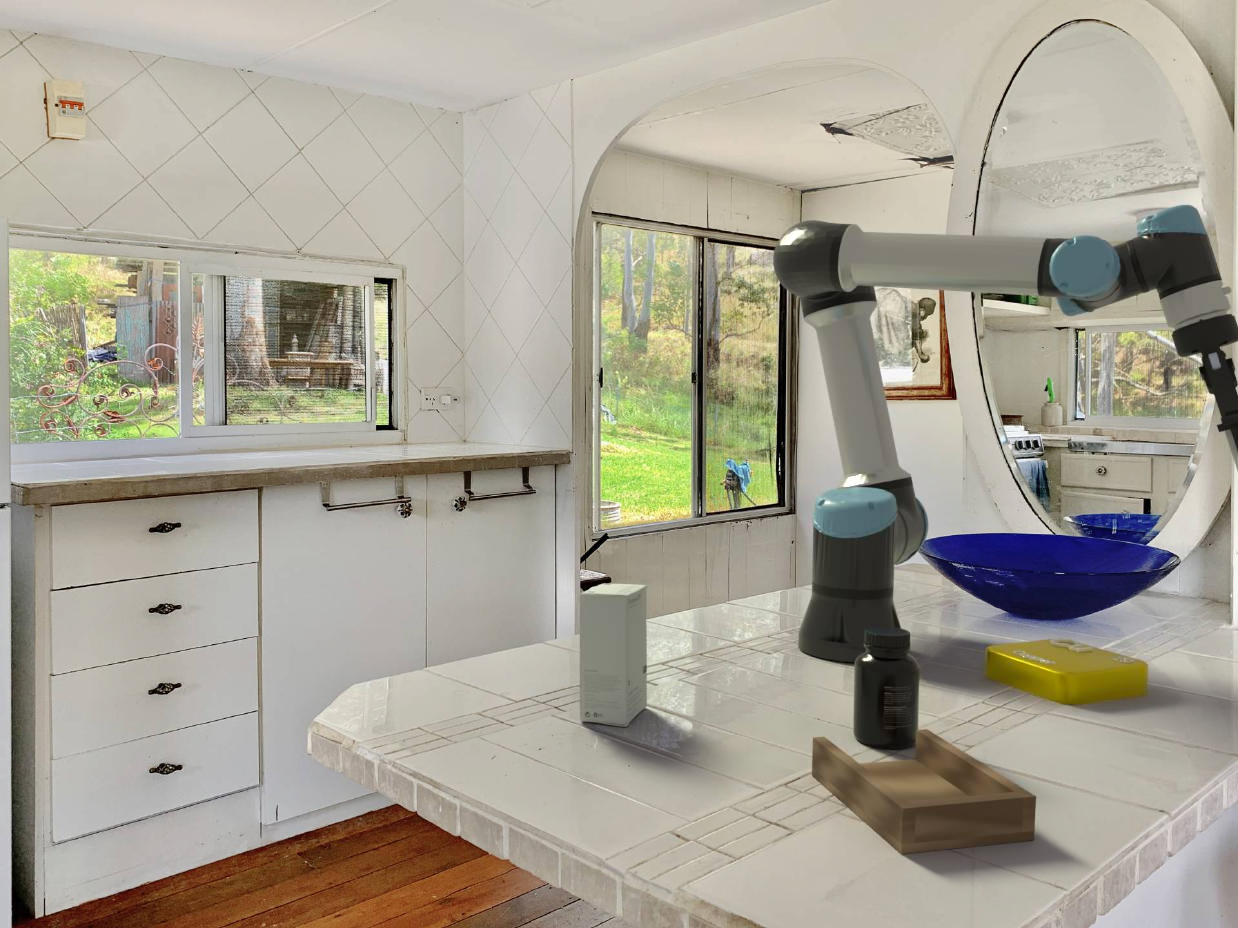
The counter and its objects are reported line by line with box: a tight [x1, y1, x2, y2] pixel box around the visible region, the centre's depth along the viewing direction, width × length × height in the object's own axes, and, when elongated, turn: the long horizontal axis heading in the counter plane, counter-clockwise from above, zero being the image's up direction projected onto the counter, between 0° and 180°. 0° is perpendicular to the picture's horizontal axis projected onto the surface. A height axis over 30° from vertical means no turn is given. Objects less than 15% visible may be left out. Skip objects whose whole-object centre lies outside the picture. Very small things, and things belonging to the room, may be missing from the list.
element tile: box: [984, 637, 1149, 706], centre depth 131 cm, size 15×15×5 cm
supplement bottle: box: [852, 627, 920, 750], centre depth 109 cm, size 7×7×12 cm
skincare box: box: [579, 582, 648, 728], centre depth 116 cm, size 8×6×15 cm
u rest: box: [811, 728, 1037, 855], centre depth 91 cm, size 17×12×4 cm
